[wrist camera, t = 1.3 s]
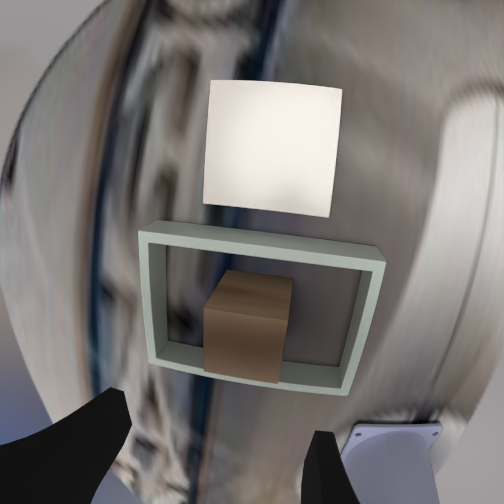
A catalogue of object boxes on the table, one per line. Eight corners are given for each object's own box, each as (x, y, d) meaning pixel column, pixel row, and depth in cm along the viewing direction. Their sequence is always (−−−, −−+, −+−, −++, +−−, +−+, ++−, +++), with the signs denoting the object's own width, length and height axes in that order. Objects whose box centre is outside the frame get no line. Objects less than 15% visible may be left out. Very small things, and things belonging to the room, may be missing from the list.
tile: (328, 215, 18) (328, 217, 17) (205, 201, 19) (203, 203, 18) (341, 90, 15) (342, 89, 15) (213, 81, 16) (210, 80, 16)
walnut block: (285, 333, 21) (277, 383, 16) (225, 324, 21) (203, 371, 17) (293, 277, 19) (288, 320, 15) (227, 268, 20) (203, 308, 15)
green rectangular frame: (345, 371, 21) (347, 395, 19) (162, 343, 23) (148, 363, 20) (376, 246, 18) (386, 261, 15) (157, 219, 19) (138, 230, 17)
